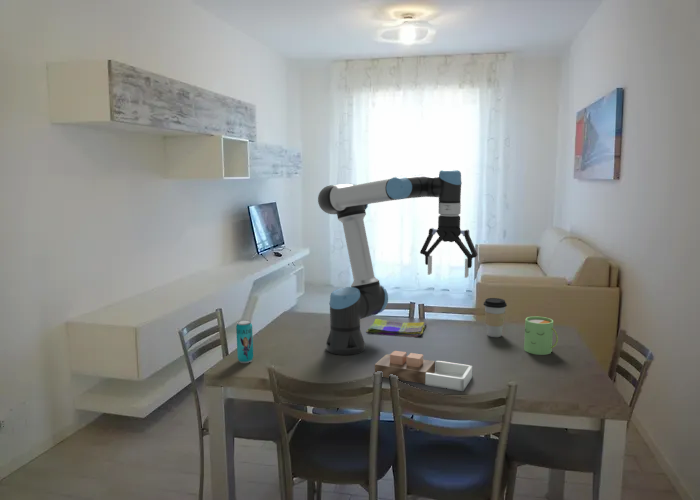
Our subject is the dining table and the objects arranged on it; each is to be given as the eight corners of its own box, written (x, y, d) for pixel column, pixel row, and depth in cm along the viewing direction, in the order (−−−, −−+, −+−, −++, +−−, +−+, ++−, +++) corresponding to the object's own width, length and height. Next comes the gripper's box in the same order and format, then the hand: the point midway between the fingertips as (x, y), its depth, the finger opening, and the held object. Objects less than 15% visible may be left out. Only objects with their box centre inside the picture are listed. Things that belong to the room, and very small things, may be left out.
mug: (519, 350, 212) (520, 320, 210) (531, 344, 220) (532, 314, 218) (551, 358, 204) (552, 327, 202) (562, 351, 211) (564, 320, 209)
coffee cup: (506, 339, 226) (507, 303, 224) (482, 337, 228) (483, 302, 226) (504, 332, 235) (506, 297, 233) (482, 331, 237) (483, 297, 235)
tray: (425, 385, 181) (425, 373, 180) (436, 371, 192) (436, 360, 192) (463, 391, 175) (463, 379, 175) (472, 376, 187) (472, 365, 186)
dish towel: (375, 322, 253) (375, 316, 253) (428, 326, 246) (428, 320, 245) (365, 334, 236) (365, 327, 236) (421, 339, 229) (421, 332, 229)
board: (374, 375, 189) (374, 364, 188) (386, 364, 199) (386, 354, 198) (425, 383, 182) (425, 372, 181) (434, 372, 191) (435, 361, 191)
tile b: (406, 365, 187) (406, 357, 187) (410, 361, 191) (410, 352, 191) (419, 367, 185) (419, 358, 185) (423, 363, 189) (423, 354, 189)
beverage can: (240, 365, 200) (238, 325, 198) (235, 360, 205) (234, 321, 203) (255, 362, 203) (254, 322, 200) (250, 357, 208) (249, 318, 206)
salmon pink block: (389, 363, 190) (389, 354, 189) (394, 358, 194) (394, 350, 193) (402, 364, 188) (402, 356, 187) (406, 360, 192) (406, 352, 191)
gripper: (412, 214, 193) (411, 274, 197) (483, 217, 184) (481, 280, 187) (418, 212, 200) (417, 270, 204) (487, 215, 190) (485, 276, 194)
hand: (447, 275), depth 195 cm, fingers open, 12 cm apart
